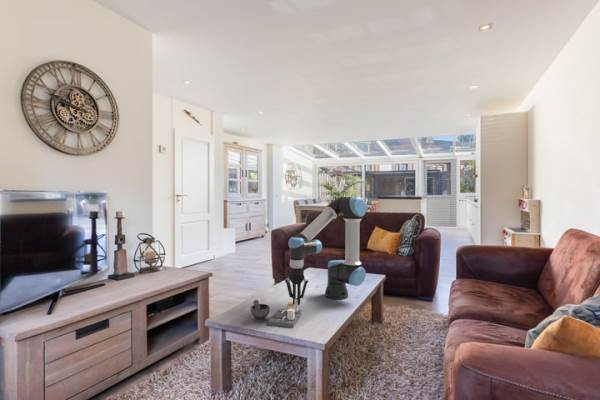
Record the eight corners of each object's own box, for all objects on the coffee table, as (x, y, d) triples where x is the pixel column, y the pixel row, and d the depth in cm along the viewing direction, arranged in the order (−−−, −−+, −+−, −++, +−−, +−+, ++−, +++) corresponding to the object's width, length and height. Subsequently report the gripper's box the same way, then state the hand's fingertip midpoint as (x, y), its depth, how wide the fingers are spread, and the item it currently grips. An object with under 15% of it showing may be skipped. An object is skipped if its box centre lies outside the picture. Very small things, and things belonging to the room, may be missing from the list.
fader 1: (294, 311, 173) (294, 302, 173) (292, 313, 170) (292, 304, 170) (288, 310, 174) (288, 302, 174) (286, 312, 171) (287, 304, 171)
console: (301, 314, 175) (301, 310, 175) (293, 327, 157) (293, 323, 157) (278, 312, 178) (278, 308, 178) (268, 325, 160) (268, 320, 160)
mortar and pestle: (256, 315, 173) (256, 293, 173) (272, 317, 170) (272, 295, 170) (246, 323, 162) (246, 300, 162) (263, 325, 159) (263, 302, 159)
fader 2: (294, 317, 164) (294, 309, 164) (293, 320, 161) (293, 311, 161) (288, 317, 165) (288, 308, 165) (287, 319, 162) (287, 310, 162)
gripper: (310, 266, 173) (309, 309, 174) (286, 264, 176) (286, 307, 176) (307, 269, 166) (306, 314, 166) (283, 267, 169) (282, 311, 169)
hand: (296, 310), depth 171 cm, fingers closed
